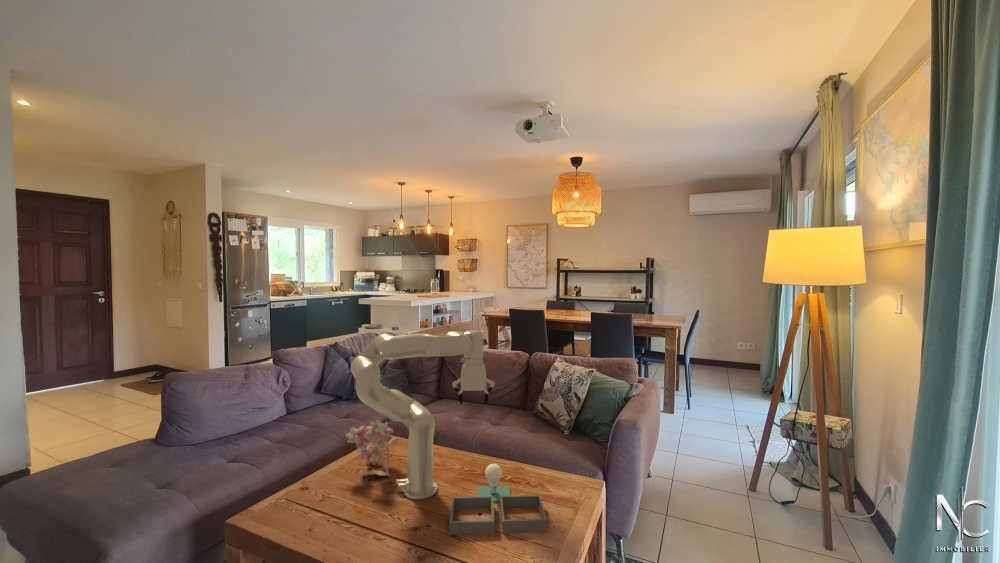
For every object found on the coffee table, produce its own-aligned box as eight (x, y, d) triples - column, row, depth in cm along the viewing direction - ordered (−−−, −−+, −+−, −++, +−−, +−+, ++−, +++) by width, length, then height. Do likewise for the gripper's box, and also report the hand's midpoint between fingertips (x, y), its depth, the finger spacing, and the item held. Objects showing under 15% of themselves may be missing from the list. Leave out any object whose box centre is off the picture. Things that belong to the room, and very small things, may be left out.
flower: (418, 456, 183) (396, 403, 185) (401, 476, 160) (376, 417, 163) (378, 474, 184) (356, 421, 186) (356, 497, 162) (331, 437, 164)
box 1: (449, 534, 132) (449, 522, 132) (452, 508, 147) (452, 497, 146) (494, 533, 133) (494, 521, 133) (492, 507, 147) (492, 496, 147)
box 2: (502, 533, 133) (502, 521, 133) (500, 506, 147) (500, 495, 147) (546, 531, 134) (546, 519, 134) (540, 505, 148) (540, 495, 148)
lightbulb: (484, 488, 158) (484, 460, 158) (501, 488, 159) (501, 460, 158) (485, 498, 152) (485, 469, 151) (502, 497, 152) (502, 468, 152)
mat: (478, 502, 150) (478, 501, 150) (478, 487, 160) (478, 486, 160) (511, 502, 150) (511, 500, 150) (509, 487, 160) (509, 485, 160)
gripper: (451, 363, 162) (451, 406, 163) (495, 363, 163) (495, 406, 164) (452, 359, 170) (452, 400, 171) (494, 359, 171) (494, 399, 172)
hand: (473, 403), depth 167 cm, fingers open, 9 cm apart
